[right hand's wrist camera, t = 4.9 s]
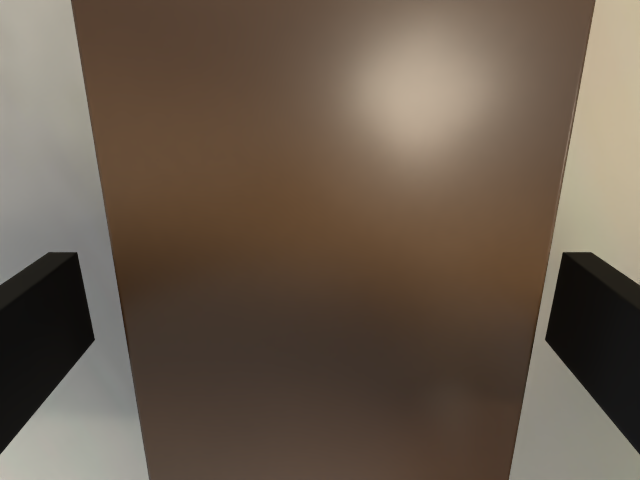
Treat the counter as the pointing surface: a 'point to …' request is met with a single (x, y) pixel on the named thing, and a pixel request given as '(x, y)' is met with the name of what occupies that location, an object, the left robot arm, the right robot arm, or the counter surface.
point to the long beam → (331, 225)
